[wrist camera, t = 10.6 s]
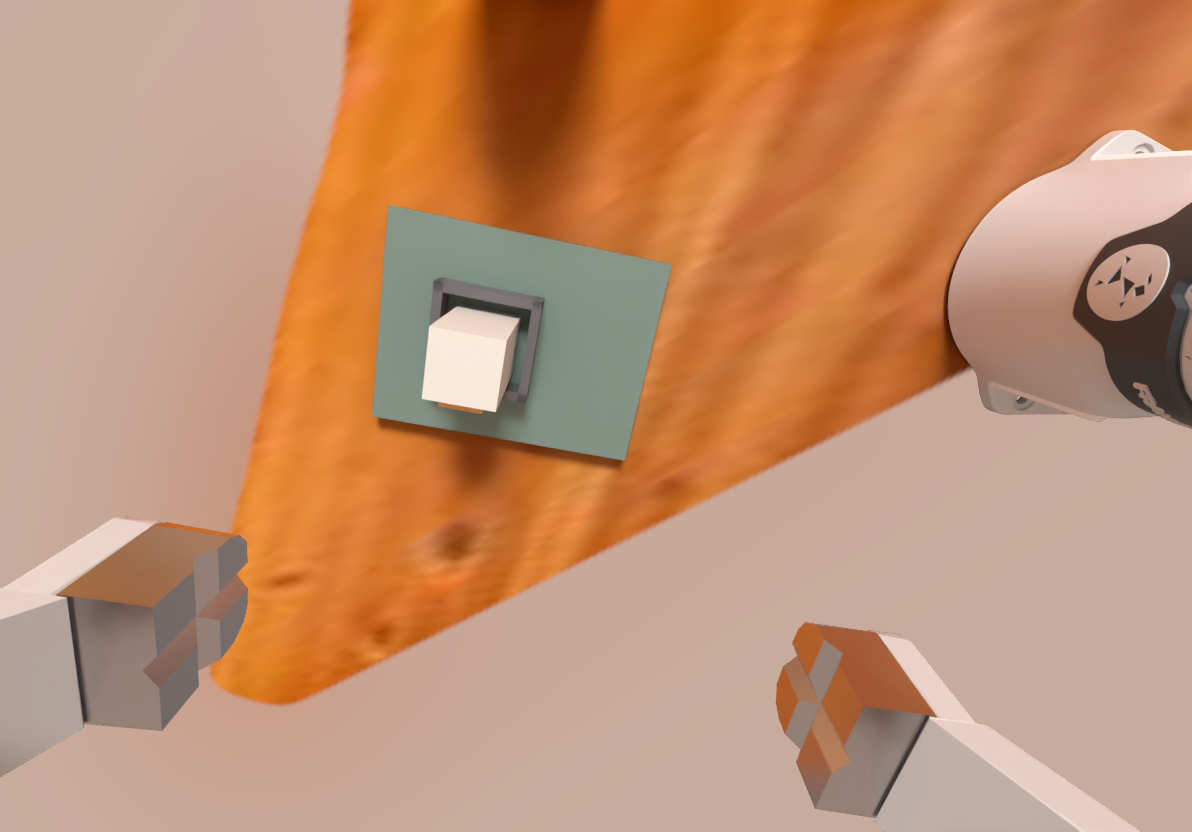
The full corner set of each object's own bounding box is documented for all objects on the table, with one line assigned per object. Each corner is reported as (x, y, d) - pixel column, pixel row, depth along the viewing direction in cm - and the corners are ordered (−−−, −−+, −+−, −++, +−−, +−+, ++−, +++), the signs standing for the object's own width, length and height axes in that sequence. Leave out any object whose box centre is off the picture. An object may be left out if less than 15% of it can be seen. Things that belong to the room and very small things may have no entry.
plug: (521, 315, 36) (506, 340, 29) (511, 379, 38) (494, 419, 30) (460, 303, 36) (429, 326, 28) (452, 368, 37) (420, 406, 30)
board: (668, 263, 37) (676, 267, 34) (623, 454, 41) (626, 472, 38) (394, 205, 35) (376, 204, 32) (378, 410, 40) (361, 426, 36)
